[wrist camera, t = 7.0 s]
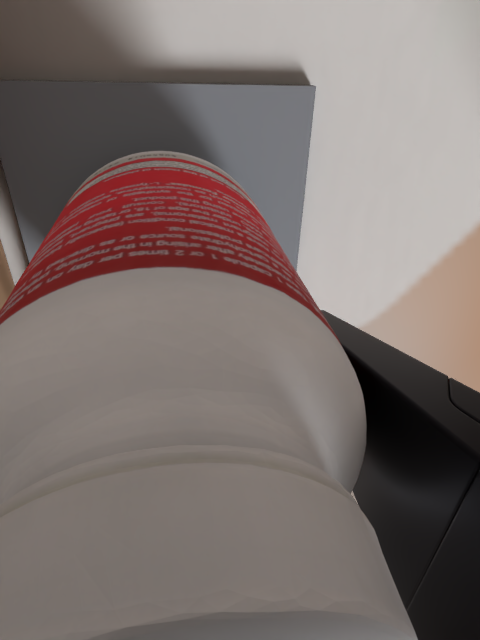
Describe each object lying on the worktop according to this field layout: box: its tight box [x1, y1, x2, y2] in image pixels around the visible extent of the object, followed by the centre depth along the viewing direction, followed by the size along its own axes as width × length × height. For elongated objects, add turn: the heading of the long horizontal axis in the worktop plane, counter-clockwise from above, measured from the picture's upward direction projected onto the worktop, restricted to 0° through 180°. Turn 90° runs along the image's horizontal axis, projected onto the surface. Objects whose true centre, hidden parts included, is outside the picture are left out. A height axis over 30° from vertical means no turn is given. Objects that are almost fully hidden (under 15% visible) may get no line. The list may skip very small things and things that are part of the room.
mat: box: [0, 80, 316, 271], centre depth 14 cm, size 9×9×1 cm
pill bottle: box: [0, 151, 418, 640], centre depth 8 cm, size 6×6×11 cm
